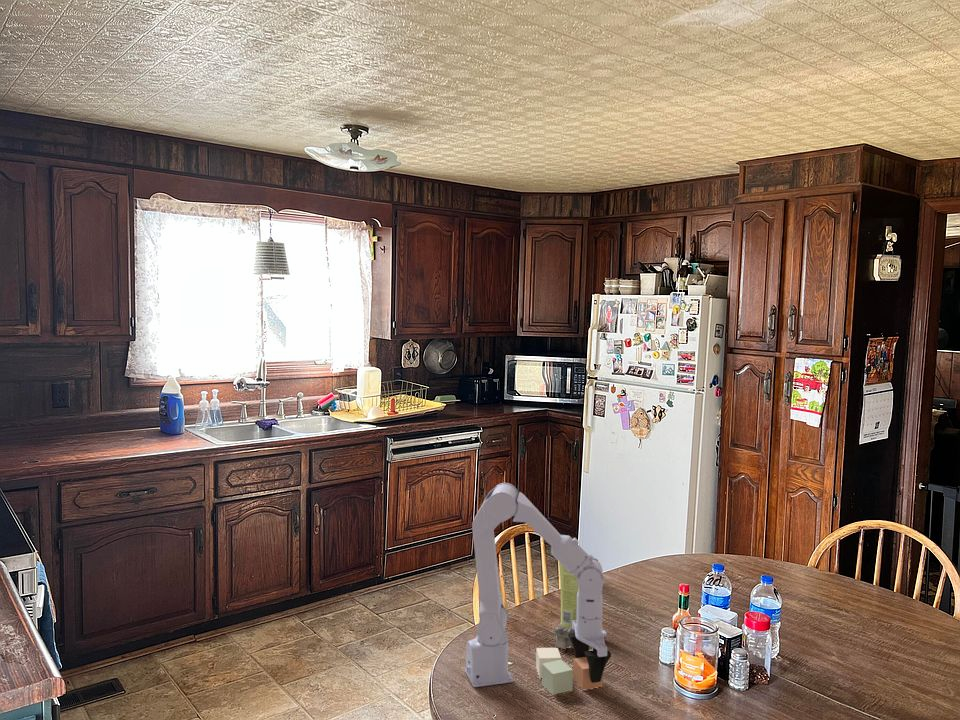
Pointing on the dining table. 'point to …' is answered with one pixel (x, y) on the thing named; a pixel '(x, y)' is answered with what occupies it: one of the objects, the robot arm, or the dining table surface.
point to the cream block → (545, 657)
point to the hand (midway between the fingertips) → (588, 673)
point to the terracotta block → (584, 674)
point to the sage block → (557, 677)
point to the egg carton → (563, 636)
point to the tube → (568, 596)
